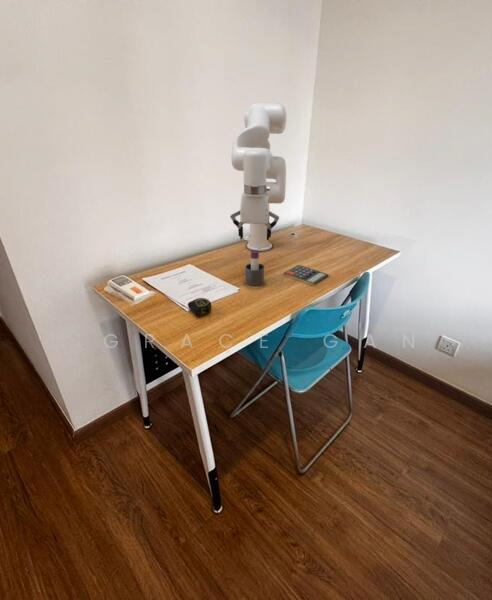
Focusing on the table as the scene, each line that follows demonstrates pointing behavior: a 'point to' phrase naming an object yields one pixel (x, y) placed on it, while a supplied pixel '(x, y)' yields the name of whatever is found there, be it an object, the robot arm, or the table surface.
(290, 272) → the calculator
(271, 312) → the table surface
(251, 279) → the pen cup
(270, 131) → the robot arm
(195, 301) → the tape measure
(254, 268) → the glue stick
